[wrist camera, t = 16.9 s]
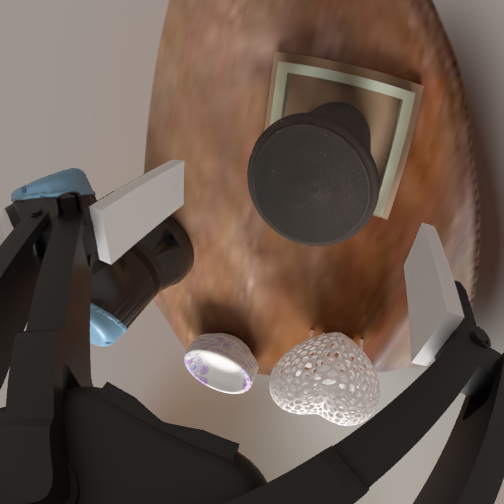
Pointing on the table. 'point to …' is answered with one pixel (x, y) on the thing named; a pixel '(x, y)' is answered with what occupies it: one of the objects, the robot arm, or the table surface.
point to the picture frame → (360, 97)
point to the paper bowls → (222, 362)
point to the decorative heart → (326, 379)
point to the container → (315, 175)
